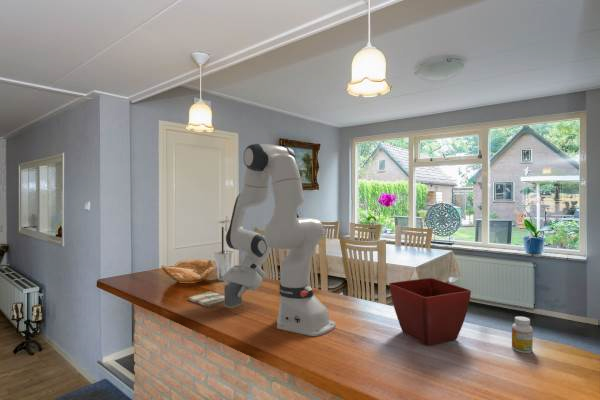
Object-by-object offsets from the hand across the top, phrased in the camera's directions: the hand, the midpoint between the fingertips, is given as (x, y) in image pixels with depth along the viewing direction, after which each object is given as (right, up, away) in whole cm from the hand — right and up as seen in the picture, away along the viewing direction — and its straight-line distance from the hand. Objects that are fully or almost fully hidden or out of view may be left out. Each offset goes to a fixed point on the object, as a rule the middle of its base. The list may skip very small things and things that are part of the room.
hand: (231, 294), depth 151 cm
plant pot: (+73, -6, -32) cm, 79 cm away
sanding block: (0, -5, +1) cm, 5 cm away
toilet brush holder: (-13, -4, +45) cm, 47 cm away
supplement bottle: (+98, -6, -43) cm, 107 cm away
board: (-11, -5, +8) cm, 15 cm away
